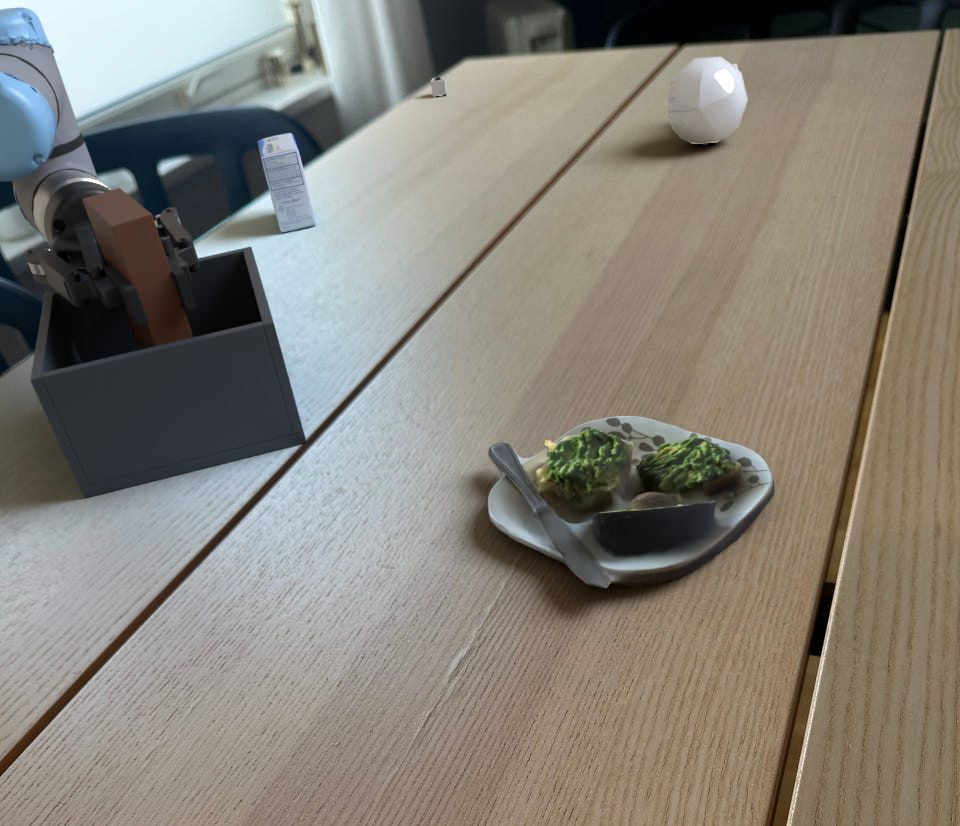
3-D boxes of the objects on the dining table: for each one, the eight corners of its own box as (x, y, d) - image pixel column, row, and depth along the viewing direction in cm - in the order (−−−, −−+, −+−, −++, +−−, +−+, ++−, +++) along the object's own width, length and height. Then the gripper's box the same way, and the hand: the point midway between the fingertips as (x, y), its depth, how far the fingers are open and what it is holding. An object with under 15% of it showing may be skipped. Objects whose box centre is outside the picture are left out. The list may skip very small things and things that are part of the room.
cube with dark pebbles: (446, 96, 158) (443, 78, 157) (433, 97, 159) (430, 80, 157) (447, 92, 160) (445, 74, 158) (434, 94, 160) (431, 76, 159)
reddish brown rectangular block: (168, 383, 79) (111, 226, 71) (137, 346, 85) (81, 198, 77) (204, 370, 79) (152, 213, 72) (171, 334, 86) (119, 187, 78)
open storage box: (83, 498, 78) (29, 379, 72) (89, 400, 91) (44, 292, 85) (306, 442, 80) (273, 322, 74) (281, 354, 93) (251, 246, 87)
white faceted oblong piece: (686, 170, 121) (708, 146, 133) (757, 114, 116) (774, 94, 127) (641, 102, 119) (668, 84, 130) (711, 41, 113) (733, 28, 124)
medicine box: (317, 226, 119) (299, 148, 114) (280, 234, 119) (260, 156, 113) (310, 206, 125) (293, 131, 120) (275, 214, 125) (255, 138, 119)
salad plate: (413, 520, 70) (401, 463, 67) (582, 410, 78) (578, 355, 75) (635, 630, 58) (633, 567, 55) (805, 487, 67) (811, 425, 64)
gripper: (186, 240, 95) (276, 313, 79) (15, 294, 90) (74, 384, 74) (159, 156, 90) (249, 215, 74) (-23, 207, 85) (31, 283, 69)
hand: (161, 299), depth 74 cm, fingers closed on reddish brown rectangular block, 3 cm apart
